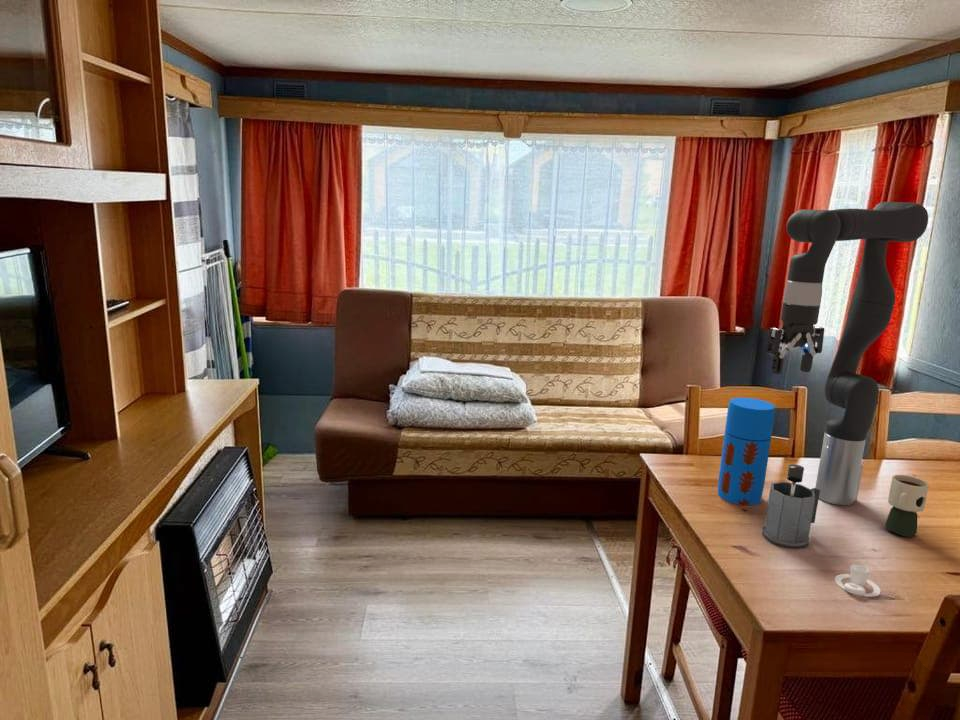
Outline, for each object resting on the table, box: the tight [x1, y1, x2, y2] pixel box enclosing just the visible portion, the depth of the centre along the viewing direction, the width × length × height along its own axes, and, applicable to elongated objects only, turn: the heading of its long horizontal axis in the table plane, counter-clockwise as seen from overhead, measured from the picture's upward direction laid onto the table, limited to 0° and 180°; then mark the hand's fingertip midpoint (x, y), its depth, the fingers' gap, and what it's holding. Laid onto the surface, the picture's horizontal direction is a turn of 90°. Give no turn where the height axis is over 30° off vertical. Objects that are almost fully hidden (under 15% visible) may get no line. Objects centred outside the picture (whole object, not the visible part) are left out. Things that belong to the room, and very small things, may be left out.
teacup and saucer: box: [834, 563, 882, 598], centre depth 130 cm, size 9×8×4 cm
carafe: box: [761, 481, 820, 550], centre depth 148 cm, size 12×10×12 cm
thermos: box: [717, 397, 776, 507], centre depth 167 cm, size 11×11×25 cm
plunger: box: [786, 463, 805, 497], centre depth 146 cm, size 7×7×14 cm
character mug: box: [884, 474, 930, 538], centre depth 152 cm, size 11×7×13 cm, turn 136°
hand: (790, 372), depth 150 cm, fingers open, 8 cm apart
